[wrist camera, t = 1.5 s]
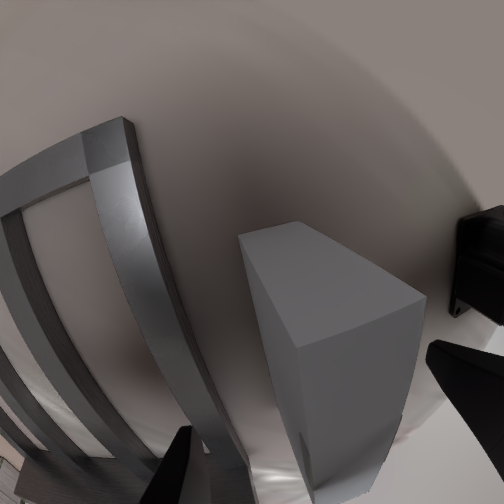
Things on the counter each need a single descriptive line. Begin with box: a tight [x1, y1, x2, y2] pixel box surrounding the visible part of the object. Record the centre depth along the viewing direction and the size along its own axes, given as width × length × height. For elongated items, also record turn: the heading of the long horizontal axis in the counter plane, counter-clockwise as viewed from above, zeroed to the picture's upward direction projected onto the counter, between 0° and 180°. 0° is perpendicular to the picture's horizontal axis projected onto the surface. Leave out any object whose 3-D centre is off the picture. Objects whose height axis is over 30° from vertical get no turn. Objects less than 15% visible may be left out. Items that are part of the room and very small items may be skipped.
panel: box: [238, 221, 427, 504], centre depth 9 cm, size 2×10×7 cm, turn 11°
